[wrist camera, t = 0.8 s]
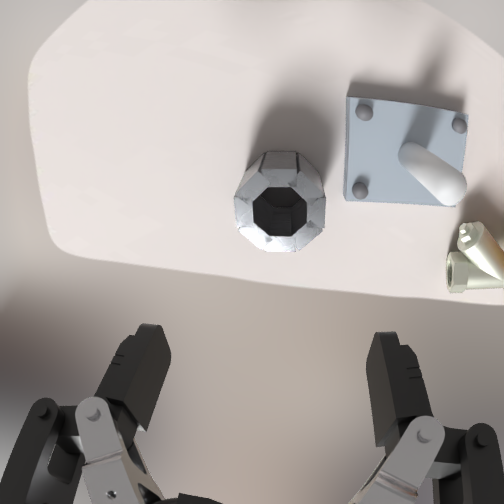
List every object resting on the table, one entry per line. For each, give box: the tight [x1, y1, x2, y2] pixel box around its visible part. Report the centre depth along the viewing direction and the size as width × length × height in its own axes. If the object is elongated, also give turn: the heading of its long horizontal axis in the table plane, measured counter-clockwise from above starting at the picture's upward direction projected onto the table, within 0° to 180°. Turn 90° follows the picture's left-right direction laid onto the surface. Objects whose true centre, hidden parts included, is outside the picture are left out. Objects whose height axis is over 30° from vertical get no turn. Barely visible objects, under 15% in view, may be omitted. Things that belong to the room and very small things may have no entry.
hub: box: [234, 151, 326, 252], centre depth 22 cm, size 6×6×5 cm
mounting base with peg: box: [343, 96, 468, 207], centre depth 18 cm, size 10×8×8 cm
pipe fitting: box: [446, 221, 504, 293], centre depth 22 cm, size 8×4×7 cm
